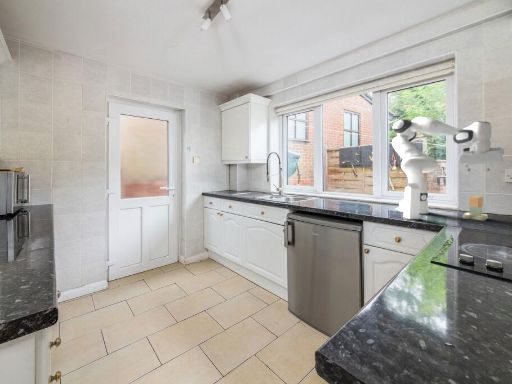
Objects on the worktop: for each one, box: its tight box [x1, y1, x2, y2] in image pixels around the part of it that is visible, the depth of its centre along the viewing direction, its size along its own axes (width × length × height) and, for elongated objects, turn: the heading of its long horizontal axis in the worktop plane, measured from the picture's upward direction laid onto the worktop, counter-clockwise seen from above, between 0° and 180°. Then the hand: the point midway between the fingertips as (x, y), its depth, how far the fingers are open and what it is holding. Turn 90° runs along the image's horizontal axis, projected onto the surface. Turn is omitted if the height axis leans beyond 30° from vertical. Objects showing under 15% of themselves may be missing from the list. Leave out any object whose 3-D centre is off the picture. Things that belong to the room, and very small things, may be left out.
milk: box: [402, 182, 420, 220], centre depth 153 cm, size 6×6×22 cm
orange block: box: [468, 195, 484, 208], centre depth 153 cm, size 4×4×6 cm
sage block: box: [468, 206, 483, 215], centre depth 153 cm, size 5×5×5 cm
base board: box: [462, 212, 489, 221], centre depth 154 cm, size 10×10×2 cm
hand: (478, 171), depth 151 cm, fingers open, 8 cm apart
